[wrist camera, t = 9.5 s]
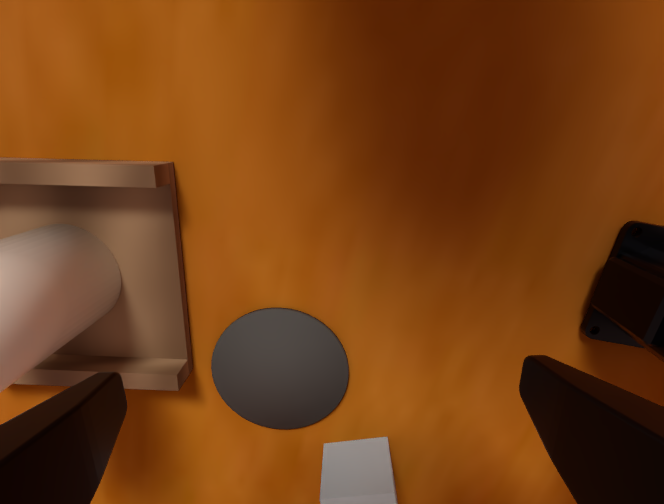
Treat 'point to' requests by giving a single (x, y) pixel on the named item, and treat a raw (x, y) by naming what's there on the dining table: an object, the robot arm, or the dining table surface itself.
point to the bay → (130, 254)
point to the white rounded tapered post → (50, 293)
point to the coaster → (280, 368)
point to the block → (358, 473)
